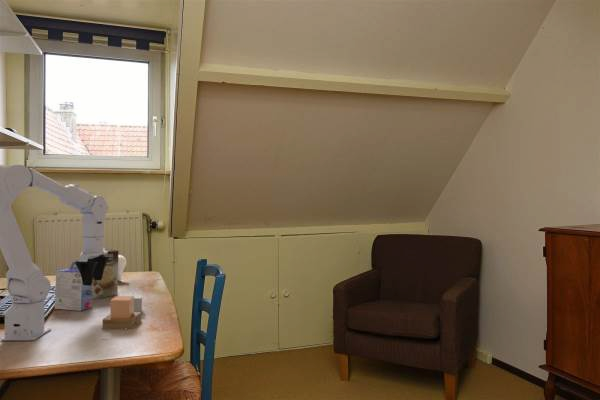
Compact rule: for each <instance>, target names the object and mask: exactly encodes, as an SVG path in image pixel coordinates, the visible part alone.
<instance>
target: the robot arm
mask: <svg viewBox="0 0 600 400" xmlns="http://www.w3.org/2000/svg"><path fill="white" fill-rule="evenodd" d="M27 188H35V189H38V190H40V191H43V192H45V193H48V194H50V195H54V196H55V197H56V196H57V197H58V200H59V202H60V203H61V204H64V205H65V206H68V207H70V208H72V209H75V210H77V211H79V213H80V214H81V215H82V251H81V253H80V254H78V256H79V257H78V260H75V261H74V262H75V267H78V269H79V271H80V274H81V278H82V282H83V285H86V286H90V285H92V282H93V279H94V280H102V277H103V273H104V269H105V266H106V263H107V261H108V260H109V256H104V255H106V254H108V251H106V250H107V248H105V247H104V245H105V244H104V240H105V237H104V236H105V228H104V227H105V220H106V214H107V213H108V212H109V209H110V206H109V205H108V202H107V201H106V198H104V197H103V196H100V195H94V194H93V192H92V191H90V190H89V191H86V190H85V189H82V188H80V185H78V184H76V183H73V184H67V185H63V184H61V183H60V182H58V181H55V180H54V179H52V178H50V177H48V176H46V175H44V174H42V173H40V172H39V171H37V170H35V169H34V168H31V167H27V166H25V165H23V164H12V165H11V164H10V165H9V164H7V165H4V164H3V165H2V164H0V251H1V253H2V256H3V258H4V260H5V263H6V265H7V268H8V270H7V271H6V273H5V277H6V280H7V282H6V290H7V292H8V293H9V294H10V295H11V300H12V303H11V306H10V307H9V308H8V309H7V311H6V312H5V315H4V336H3V337H1V338H0V341H34V340H36V339H38V338H39V337H41V336H43V335H44V334H46V333H48V332H49V331H51V330H52V327H45V304H46V303H45V300H46V297H47V296H48V295H49V294H50V292H51V287H52V286H51V281H50V280H49V278H48V277H47V276H45V275H44V274H43V272H42V271H43V270H42V269H40V268H39V266H38V265H36V263H34V262H33V259H32V256H31V255H30V251H29V249H28V246H27V244H26V241H25V239H24V236H23V234H22V232H21V229H20V227H19V224H18V222H17V218H16V216H15V214H14V212H13V209H12V204H13V203H14V201H15V200H16V199H17V197H19V195H21V194H22V193H23V192H24V191H25V190H27Z"/></svg>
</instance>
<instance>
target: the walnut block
mask: <svg viewBox="0 0 600 400" xmlns="http://www.w3.org/2000/svg"><path fill="white" fill-rule="evenodd" d="M140 322H142V314H141V312H134V314H133V315H132V316H131V317H130V318H110V314H109V315H107V316H105V317H104V318H103V319H102V324H101V325H102V327H101V328H102V330H131V329H130V328H133V327H134V326H135V325H136V326H137V325H139V323H140ZM136 326H135V327H136ZM135 327H134V328H135ZM125 328H127V329H125ZM134 328H133V329H134Z"/></svg>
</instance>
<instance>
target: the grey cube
mask: <svg viewBox="0 0 600 400" xmlns="http://www.w3.org/2000/svg"><path fill="white" fill-rule="evenodd" d="M126 296H134V312H141V315H142V314H143V313H142V312H143V295H142V294H131V295H130V294H129V295H127V294H126Z"/></svg>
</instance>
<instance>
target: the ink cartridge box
mask: <svg viewBox="0 0 600 400" xmlns="http://www.w3.org/2000/svg"><path fill="white" fill-rule="evenodd" d="M54 292H55V293H54V309H55V310H65V311H78V312H81V311H84V310H88V309H91V308H93V298H92V285H90V286H86V285H83V282H82V278H81V274H80V271H79V269H78V267H77V266H76V264H75V261H72V263H71V265H70V267H69V268H65V269H64V268H63V269H59V270H56V271H55V291H54Z"/></svg>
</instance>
